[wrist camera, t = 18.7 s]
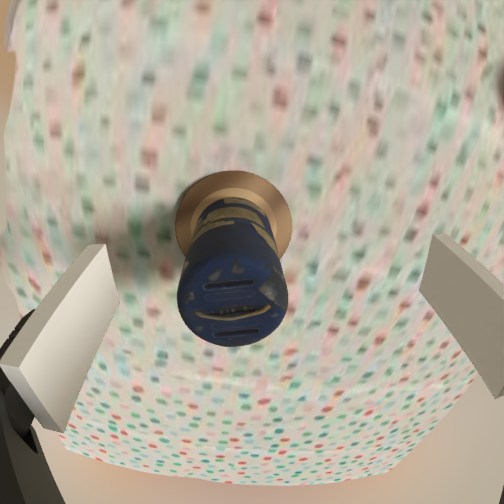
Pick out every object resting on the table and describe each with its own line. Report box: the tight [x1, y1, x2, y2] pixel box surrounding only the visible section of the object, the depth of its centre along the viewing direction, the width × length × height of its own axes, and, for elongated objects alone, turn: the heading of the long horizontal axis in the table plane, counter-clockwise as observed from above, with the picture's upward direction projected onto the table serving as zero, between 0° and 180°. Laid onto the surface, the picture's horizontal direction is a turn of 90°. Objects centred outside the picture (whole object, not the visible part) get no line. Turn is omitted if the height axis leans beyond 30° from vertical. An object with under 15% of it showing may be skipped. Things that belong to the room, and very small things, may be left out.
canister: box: [177, 197, 288, 347], centre depth 33 cm, size 10×10×18 cm
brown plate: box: [175, 171, 292, 259], centre depth 41 cm, size 15×15×1 cm
